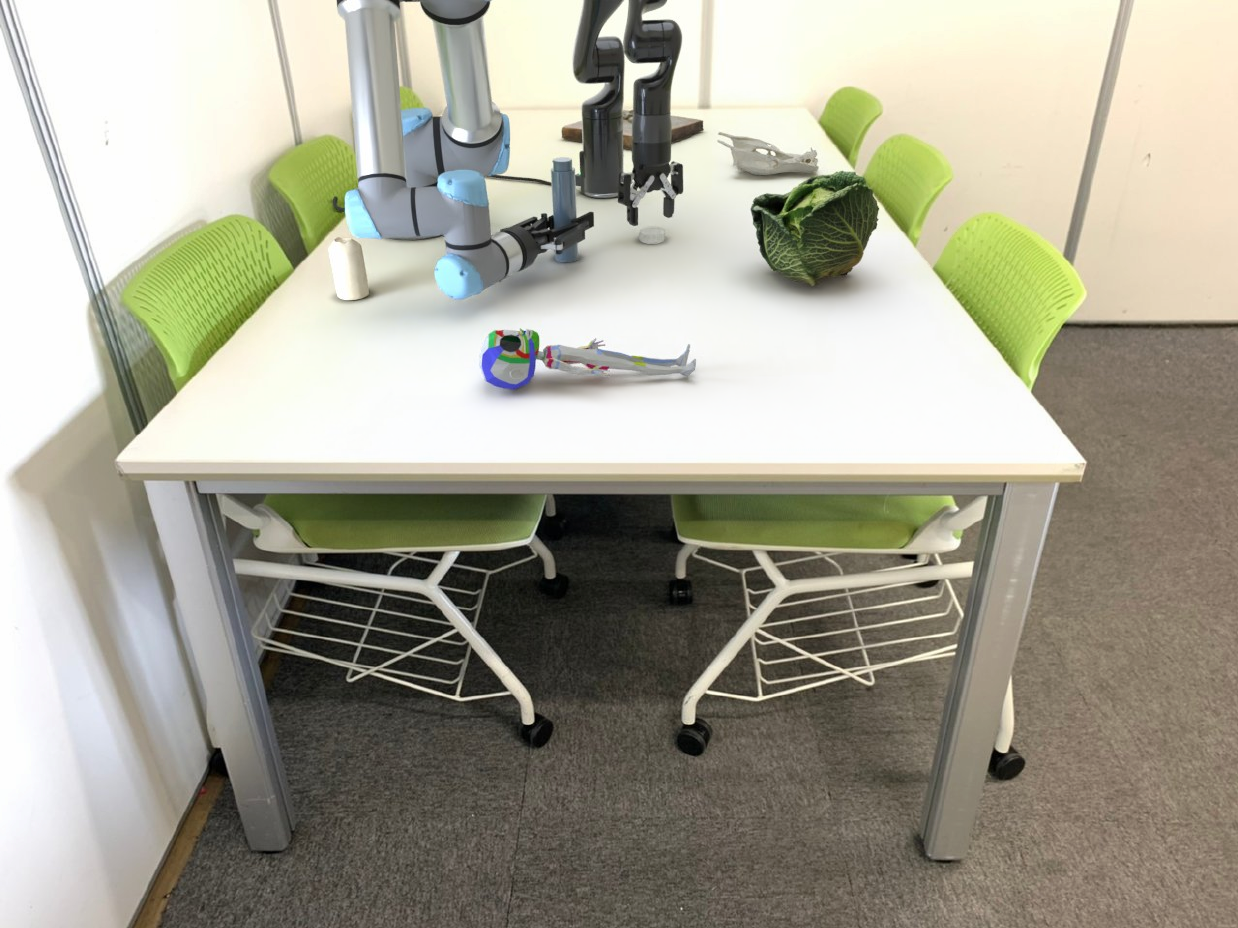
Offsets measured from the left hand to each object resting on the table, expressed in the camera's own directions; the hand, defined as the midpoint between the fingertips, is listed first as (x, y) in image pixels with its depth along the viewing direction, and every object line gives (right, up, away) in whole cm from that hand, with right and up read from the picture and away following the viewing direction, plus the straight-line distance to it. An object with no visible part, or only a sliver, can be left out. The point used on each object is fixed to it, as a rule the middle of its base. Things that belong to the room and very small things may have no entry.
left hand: (580, 217), depth 172 cm
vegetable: (+42, -14, -11) cm, 45 cm away
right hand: (+14, +1, +7) cm, 15 cm away
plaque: (+12, +47, +87) cm, 100 cm away
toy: (+3, -35, -44) cm, 56 cm away
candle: (-39, -18, -15) cm, 46 cm away
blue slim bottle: (-3, -8, 0) cm, 8 cm away
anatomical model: (+44, +25, +50) cm, 71 cm away
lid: (+14, -1, +7) cm, 16 cm away
